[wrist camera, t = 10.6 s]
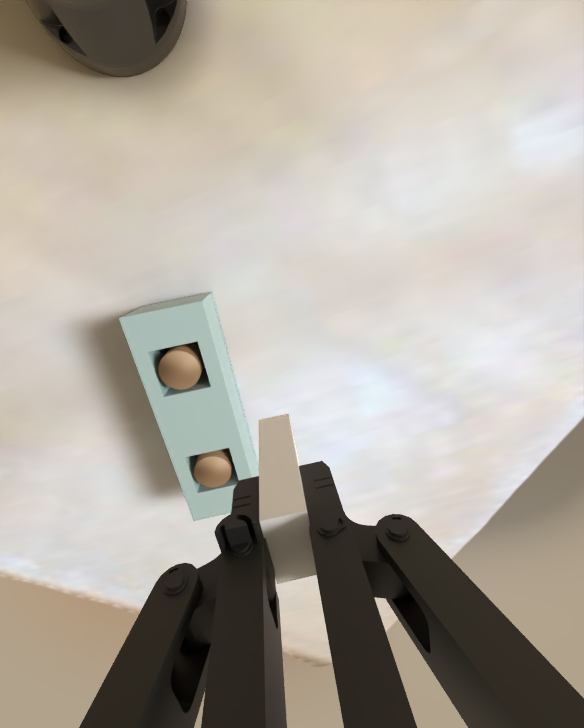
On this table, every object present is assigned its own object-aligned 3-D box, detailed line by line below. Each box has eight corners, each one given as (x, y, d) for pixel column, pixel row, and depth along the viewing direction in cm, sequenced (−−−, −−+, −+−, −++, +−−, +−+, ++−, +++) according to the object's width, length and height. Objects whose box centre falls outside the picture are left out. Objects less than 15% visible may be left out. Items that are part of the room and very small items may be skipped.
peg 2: (199, 428, 50) (189, 461, 42) (230, 422, 50) (225, 453, 42) (208, 455, 51) (199, 490, 44) (238, 448, 51) (234, 483, 44)
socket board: (142, 306, 44) (118, 318, 36) (211, 291, 44) (202, 301, 36) (202, 482, 53) (193, 521, 45) (259, 469, 53) (259, 506, 46)
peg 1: (170, 337, 45) (152, 356, 37) (204, 330, 45) (193, 347, 37) (180, 369, 46) (165, 393, 39) (213, 362, 47) (205, 384, 39)
